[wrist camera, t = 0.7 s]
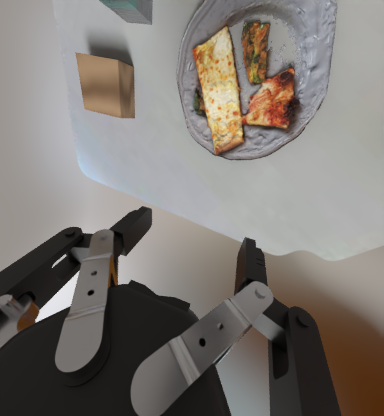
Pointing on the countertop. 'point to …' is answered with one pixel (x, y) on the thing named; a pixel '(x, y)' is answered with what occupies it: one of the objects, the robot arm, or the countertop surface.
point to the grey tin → (132, 10)
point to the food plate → (253, 75)
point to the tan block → (107, 85)
